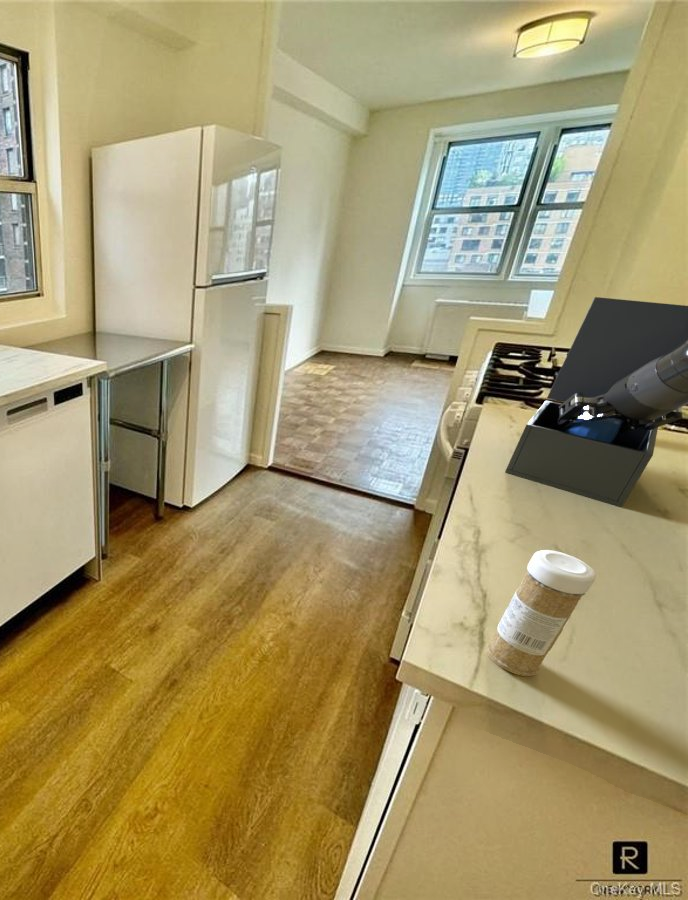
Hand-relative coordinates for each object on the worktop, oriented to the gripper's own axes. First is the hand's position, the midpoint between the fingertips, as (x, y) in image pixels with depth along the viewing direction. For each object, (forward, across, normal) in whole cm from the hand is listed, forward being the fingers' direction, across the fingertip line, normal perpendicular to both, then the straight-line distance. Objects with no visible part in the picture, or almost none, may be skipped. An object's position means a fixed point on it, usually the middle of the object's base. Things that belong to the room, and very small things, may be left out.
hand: (585, 428), depth 88 cm
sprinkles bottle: (-34, +27, +46) cm, 64 cm away
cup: (+2, 0, +4) cm, 5 cm away
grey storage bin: (+5, 0, +7) cm, 9 cm away
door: (-3, -5, -14) cm, 15 cm away
